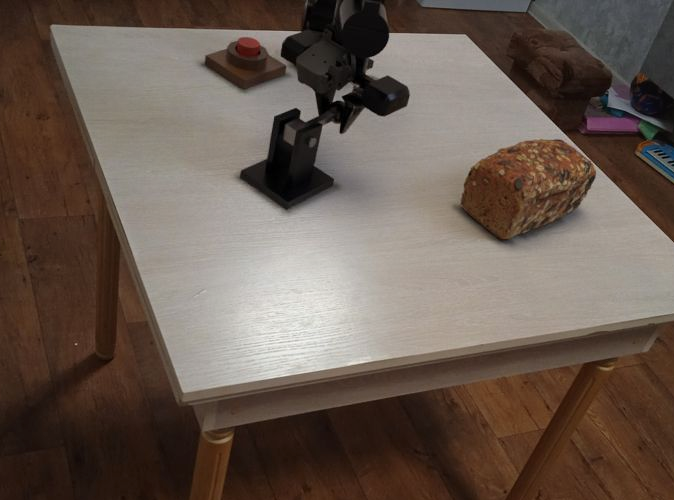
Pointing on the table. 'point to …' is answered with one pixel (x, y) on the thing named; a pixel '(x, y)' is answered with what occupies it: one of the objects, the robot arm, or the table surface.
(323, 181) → the bracket
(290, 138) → the lever
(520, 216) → the bread
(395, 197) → the table surface
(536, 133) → the table surface
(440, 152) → the table surface
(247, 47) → the button
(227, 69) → the button block
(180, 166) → the table surface
